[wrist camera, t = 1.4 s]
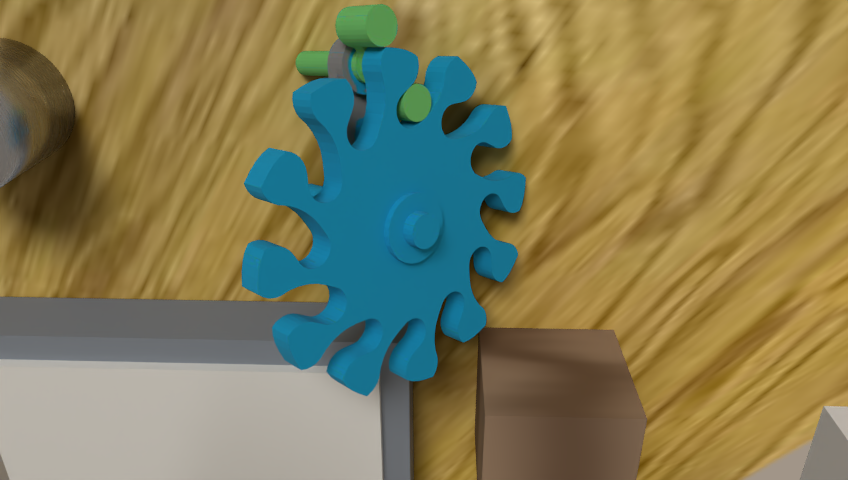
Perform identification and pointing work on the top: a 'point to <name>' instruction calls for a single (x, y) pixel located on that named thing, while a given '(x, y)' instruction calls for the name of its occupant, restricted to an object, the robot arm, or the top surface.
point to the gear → (383, 206)
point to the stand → (187, 396)
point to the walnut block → (555, 406)
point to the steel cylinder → (30, 109)
